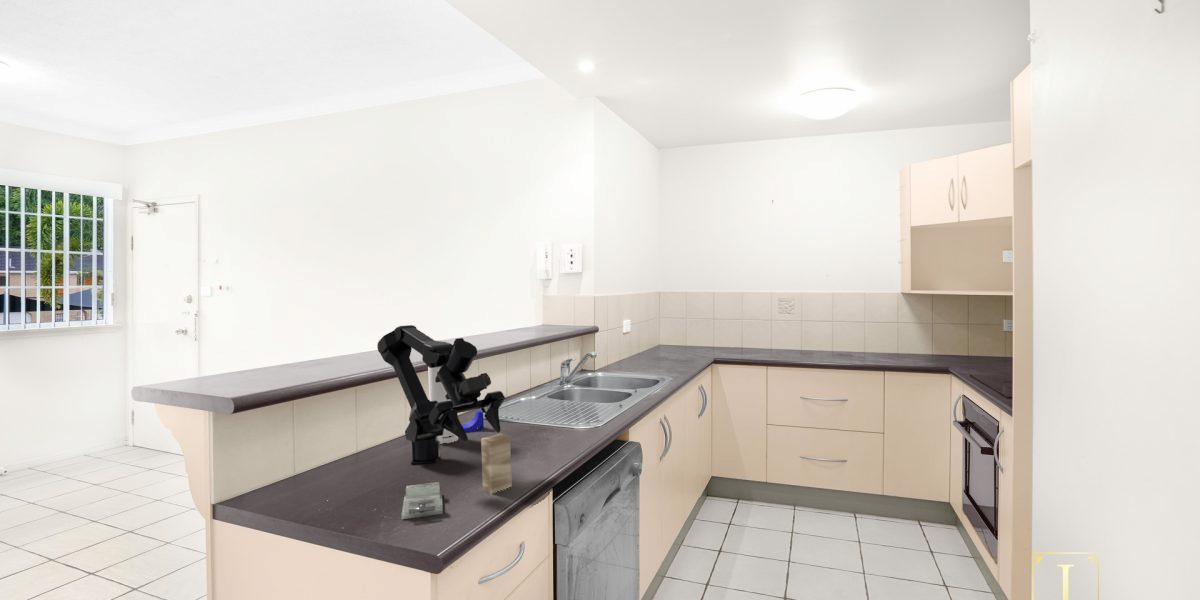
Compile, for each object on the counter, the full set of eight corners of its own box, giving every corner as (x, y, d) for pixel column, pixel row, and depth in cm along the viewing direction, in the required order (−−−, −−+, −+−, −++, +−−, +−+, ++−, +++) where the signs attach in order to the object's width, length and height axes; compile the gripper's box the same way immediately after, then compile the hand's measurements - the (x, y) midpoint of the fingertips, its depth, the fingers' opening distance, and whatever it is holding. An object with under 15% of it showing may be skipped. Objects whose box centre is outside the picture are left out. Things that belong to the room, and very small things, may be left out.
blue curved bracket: (479, 427, 184) (479, 409, 184) (483, 430, 181) (483, 411, 180) (443, 432, 179) (442, 414, 179) (446, 435, 175) (446, 417, 175)
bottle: (438, 436, 174) (435, 347, 173) (462, 436, 172) (459, 347, 172) (425, 443, 166) (422, 350, 165) (450, 444, 164) (447, 350, 164)
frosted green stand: (404, 499, 123) (403, 485, 123) (442, 494, 125) (441, 480, 125) (401, 523, 110) (400, 507, 110) (442, 517, 113) (442, 501, 113)
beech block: (482, 490, 127) (481, 438, 127) (502, 483, 131) (500, 433, 131) (492, 494, 125) (490, 441, 124) (511, 487, 129) (510, 435, 128)
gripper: (433, 368, 127) (461, 423, 120) (499, 359, 141) (528, 407, 134) (417, 398, 133) (443, 452, 126) (482, 386, 146) (509, 434, 139)
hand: (483, 435), depth 131 cm, fingers open, 9 cm apart
